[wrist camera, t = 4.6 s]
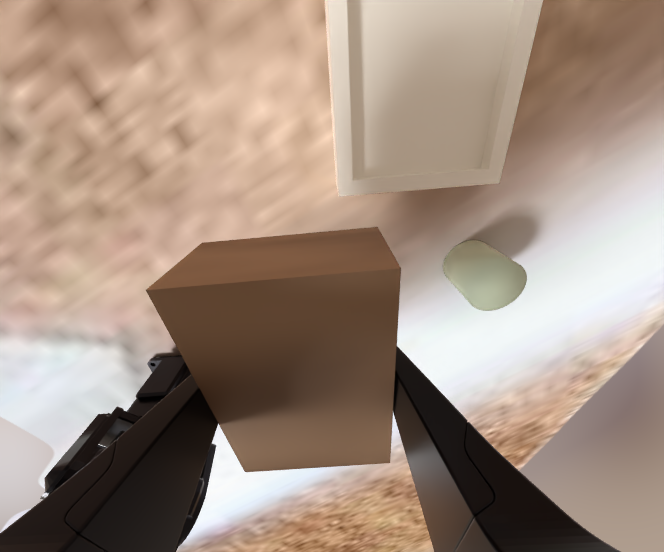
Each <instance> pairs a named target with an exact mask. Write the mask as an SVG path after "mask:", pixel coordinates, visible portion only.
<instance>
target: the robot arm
mask: <svg viewBox="0 0 664 552" xmlns="http://www.w3.org/2000/svg"><path fill="white" fill-rule="evenodd" d="M148 366H149V368H150V369H151V371H152V372H153V373H152V374H151V375H150V377H149V378H148V379H147V381H146V382H145V383H144V385H143V386H142V387H141V389H140V390H139V391H138V393H137V394H136V400H135V401H134V403H133V404H132V405H131V407H130V408H129V409H128V411H127V412H126V411H124V409H122V408H120V407H116V409H115V410H114V411H113V412H112V413H111V414H110V413H108V414H98V415H97V417H96V418H95V419H94V420H93V421H92V423H91V424H90V425H89V426H88V427H87V429H86V430H85V431H84V432H83V433H82V435H81V436H80V437H79V438H78V439H77V441H76V442H75V443H74V444H73V445H72V446H71V448H70V449H69V450H68V451H67V452H66V453H65V455H64V456H63V457H62V458H61V459H60V460H59V462H58V463H57V464H56V465H55V466H54V467H53V469H52V470H51V471H50V472H49V473H48V475H47V476H46V477H45V493H44V494H43V496H42V497H41V499H43V500H42V501H41V502H40V503H38V504H37V505H36V506H35V507H33V508H32V509H31V510H29V511H28V512H27V513H26V514H24V515H23V516H22V517H21V518H19V519H18V520H17V521H15V522H14V523H13V524H12V525H10V526H9V527H8V528H7V529H5V530H4V531H3V532H1V533H0V552H176V550H177V548H178V546H180V545H181V544H182V543H183V541H184V540H185V539H186V538H187V536H188V534H189V533H190V531H191V529H192V528H193V526H194V524H195V522H196V520H197V518H198V515H199V513H200V511H201V508H202V505H203V502H204V499H205V496H206V492H207V487H208V482H209V477H210V473H211V468H212V463H213V458H214V453H215V449H216V445H215V444H212V440H213V437H214V434H215V431H216V428H217V426H218V422H217V420H216V418H215V416H214V414H213V412H212V410H211V409H210V407H209V405H208V403H207V401H206V399H205V397H204V395H203V394H202V392H201V390H200V388H199V387H198V385H197V383H196V381H195V379H194V377H193V376H192V374H191V372H190V370H189V368H188V366H187V365H186V363H185V361H184V359H183V357H182V356H173V357H160V358H151V359H150V360H149V362H148ZM393 412H394V416H395V419H396V423H397V426H398V430H399V433H400V436H401V440H402V443H403V446H404V450H405V453H406V457H407V460H408V463H409V467H410V470H411V474H412V477H413V480H414V484H415V487H416V491H417V494H418V497H419V501H420V504H421V507H422V511H423V514H424V518H425V521H426V524H427V528H428V531H429V535H430V538H431V541H432V545H433V548H434V552H620V551H619V550H617V549H615V548H613V547H612V546H610V545H608V544H607V543H605V542H603V541H602V540H600V539H599V538H597V537H596V536H594V535H593V534H591V533H590V532H589V531H587V530H586V529H585V528H583V527H582V526H581V525H579V524H578V523H577V522H576V521H574V520H573V519H572V518H571V517H570V516H568V515H567V514H566V513H565V512H564V511H563V510H562V509H560V508H559V507H558V506H557V505H556V504H555V503H554V502H552V501H551V500H550V499H549V498H548V497H547V496H546V495H545V494H544V493H543V492H541V490H539V489H538V488H537V487H536V486H535V485H534V484H533V483H532V482H531V481H529V480H528V479H527V478H526V477H525V476H524V475H523V474H522V473H521V472H520V471H518V470H517V469H516V468H515V467H514V466H513V465H512V464H511V463H510V462H509V461H508V460H506V459H505V458H504V457H503V456H502V455H501V454H500V453H499V452H498V451H497V450H496V449H495V448H494V447H493V446H492V445H491V444H490V443H489V442H488V441H487V440H486V439H485V438H484V437H483V436H482V435H481V434H480V433H479V432H478V431H477V430H476V429H475V428H474V427H473V426H472V425H471V424H470V423H469V422H467V419H466V418H465V417H464V416H463V415H462V414H461V413H460V412H459V411H458V410H457V409H456V408H455V407H454V406H453V405H452V404H451V403H450V401H449V400H448V399H447V398H446V397H445V396H444V395H443V394H442V393H441V392H440V391H439V390H438V389H437V388H436V387H435V386H434V385H433V384H432V382H431V381H430V380H429V379H428V378H427V377H426V376H425V375H424V374H423V373H422V372H421V371H420V370H419V369H418V368H417V367H416V366H415V365H414V363H413V362H412V361H411V360H410V359H409V358H408V357H407V356H406V355H405V354H404V353H403V352H402V351H401V350H400V349H399V348H398V347H397V346H396V363H395V381H394V399H393ZM98 444H100V445H103V446H106V447H103V446H100V445H98Z"/></svg>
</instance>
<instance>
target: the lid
mask: <svg viewBox="0 0 664 552" xmlns="http://www.w3.org/2000/svg"><path fill="white" fill-rule="evenodd" d="M400 274H401V268H400V266H399V264H398V263H397V261H396V259H395V257H394V255H393V254H392V252H391V250H390V248H389V247H388V245H387V243H386V241H385V240H384V238H383V236H382V234H381V232H380V231H379V229H378V227H372V228H361V229H350V230H339V231H328V232H317V233H306V234H295V235H284V236H273V237H262V238H251V239H240V240H229V241H218V242H207V243H201V244H200V245H199V246H198V247H197V248H195V249H194V250H193V251H192V252H191V253H190V254H188V255H187V256H186V257H185V258H184V259H182V260H181V261H180V262H179V263H178V264H176V265H175V266H174V267H173V268H172V269H170V270H169V271H168V272H167V273H166V274H165V275H163V276H162V277H161V278H160V279H159V280H157V281H156V282H155V283H154V284H153V285H151V286H150V287H149V288H148V289H147V290H146V291H147V293H148V295H149V297H150V299H151V300H152V302H153V304H154V306H155V308H156V310H157V311H158V313H159V315H160V317H161V319H162V321H163V322H164V324H165V326H166V328H167V330H168V332H169V333H170V335H171V337H172V339H173V341H174V343H175V344H176V346H177V348H178V350H179V352H180V354H181V355H182V357H183V359H184V361H185V363H186V365H187V366H188V368H189V370H190V372H191V374H192V376H193V377H194V379H195V381H196V383H197V385H198V387H199V388H200V390H201V392H202V394H203V395H204V397H205V399H206V401H207V403H208V405H209V407H210V409H211V410H212V412H213V414H214V416H215V418H216V420H217V422H218V423H219V425H220V427H221V429H222V431H223V433H224V434H225V436H226V438H227V440H228V442H229V444H230V445H231V447H232V449H233V451H234V453H235V455H236V456H237V458H238V460H239V462H240V464H241V466H242V467H243V469H244V471H245V472H255V471H271V470H287V469H302V468H318V467H333V466H349V465H365V464H380V463H390V453H391V435H392V417H393V399H394V381H395V363H396V345H397V328H398V310H399V292H400Z"/></svg>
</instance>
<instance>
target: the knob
mask: <svg viewBox="0 0 664 552" xmlns="http://www.w3.org/2000/svg"><path fill="white" fill-rule="evenodd" d="M443 271H444V274H445V276H446V277H447V278H448V280H449V281H450V282H451V283H452V284H453V285H454V286H455V287H456V288H457V289H458V291H459V292H460V293H461V294H462V295H463V296H464V297H465V298H466V299H467V300H468V302H469V303H470V304H471V305H472V306H473V307H475V308H477V309H479V310H484V311H491V310H496V309H500V308H502V307H505V306H507V305H508V304H510V303H511V302H513V301H514V300H515V299H516V298H517V297H518V296H519V295H520V294H521V293H522V291H523V289H524V287H525V285H526V281H527V275H526V272H525V270H524V268H523V267H522V266H521V265H519V264H518V263H516V262H514V261H513V260H511V259H510V258H508V257H506V256H505V255H503V254H502V253H500V252H498V251H497V250H495V249H494V248H492V247H490V246H489V245H487V244H486V243H484V242H482V241H478V240H470V241H466V242H463V243H461V244H459V245H457V246H456V247H454V248H453V249H452V250H451V251H450V252H449V253H448V255H447V256H446V258H445V261H444V264H443Z"/></svg>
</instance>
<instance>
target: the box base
mask: <svg viewBox="0 0 664 552" xmlns="http://www.w3.org/2000/svg"><path fill="white" fill-rule="evenodd" d="M542 3H543V0H325V14H326V30H327V46H328V62H329V78H330V94H331V109H332V125H333V141H334V157H335V173H336V187H337V190H338V194H339V197H341V196H353V195H365V194H377V193H389V192H401V191H414V190H426V189H438V188H450V187H462V186H474V185H486V184H498V183H500V180H501V175H502V171H503V167H504V163H505V159H506V154H507V150H508V146H509V142H510V138H511V133H512V129H513V125H514V121H515V117H516V112H517V108H518V104H519V100H520V96H521V91H522V87H523V83H524V79H525V75H526V70H527V66H528V62H529V58H530V54H531V49H532V45H533V41H534V37H535V33H536V28H537V24H538V20H539V16H540V12H541V7H542Z"/></svg>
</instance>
